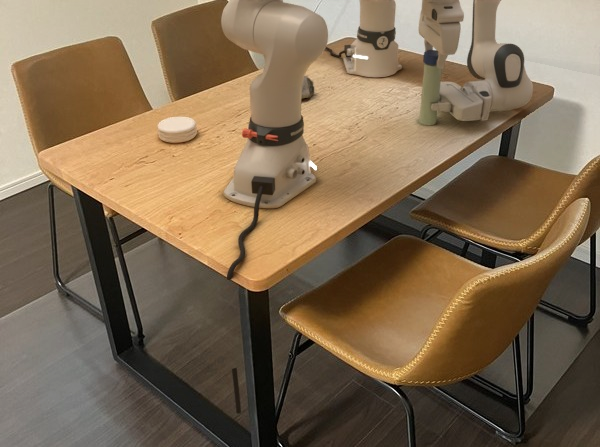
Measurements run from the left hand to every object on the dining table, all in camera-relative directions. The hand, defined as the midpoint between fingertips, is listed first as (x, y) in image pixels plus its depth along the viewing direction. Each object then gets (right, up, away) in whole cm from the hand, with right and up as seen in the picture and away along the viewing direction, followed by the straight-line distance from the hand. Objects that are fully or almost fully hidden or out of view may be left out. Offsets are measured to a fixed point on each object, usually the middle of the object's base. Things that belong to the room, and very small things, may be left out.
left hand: (434, 62), depth 160 cm
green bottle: (0, -14, +9) cm, 17 cm away
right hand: (-1, -9, +6) cm, 11 cm away
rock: (-38, -3, +28) cm, 47 cm away
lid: (0, +2, -1) cm, 2 cm away
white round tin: (-67, -19, +3) cm, 69 cm away
